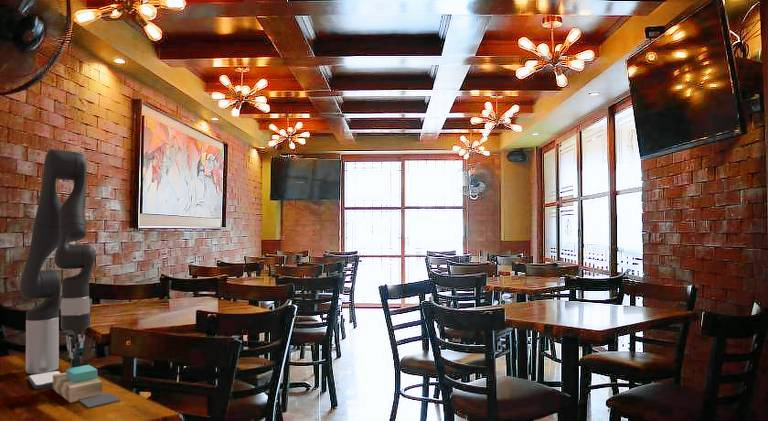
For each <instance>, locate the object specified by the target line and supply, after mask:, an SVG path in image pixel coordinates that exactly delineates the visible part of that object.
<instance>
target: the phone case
mask: <svg viewBox="0 0 768 421" xmlns="http://www.w3.org/2000/svg"><path fill="white" fill-rule="evenodd" d="M56 374H61V371H60V370H57V371H56V370H54V371H50V372H45V373H36V374H30V375H27V380H28V382H29V384H30V385H31V386H32V388H33V389H34V390H44V389H48V388H53V375H56Z"/></svg>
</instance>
